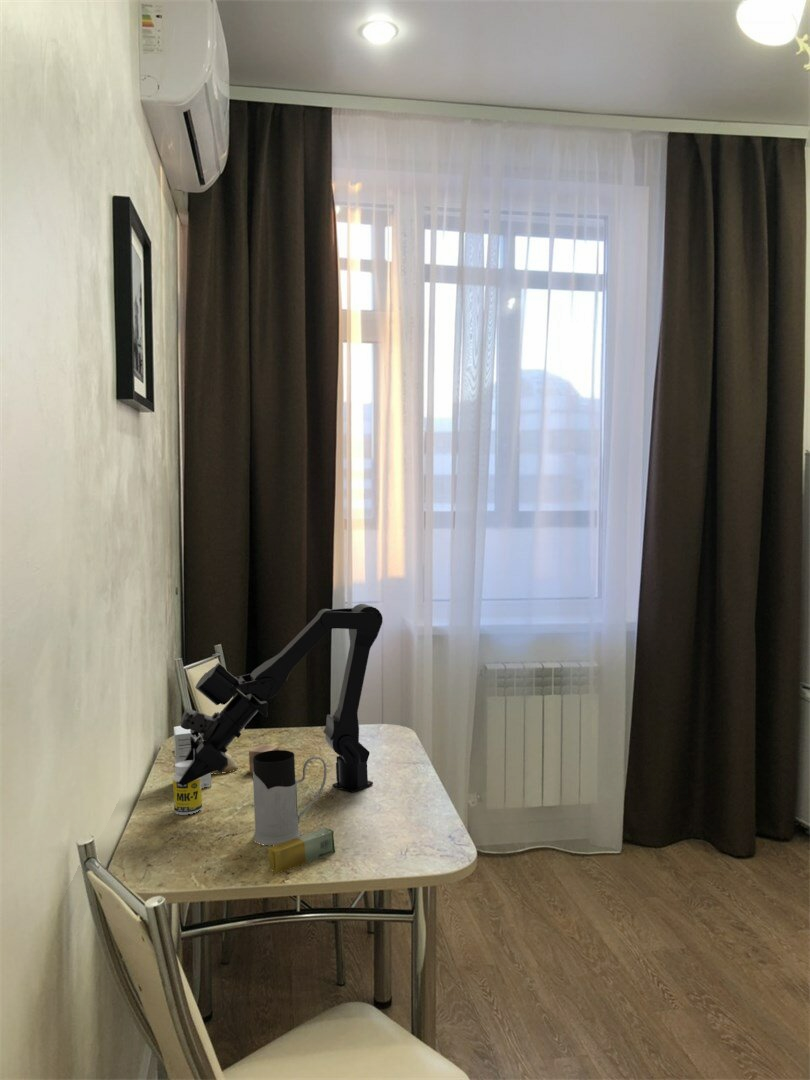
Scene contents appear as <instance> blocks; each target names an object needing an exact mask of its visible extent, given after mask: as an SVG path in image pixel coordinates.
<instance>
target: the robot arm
mask: <svg viewBox="0 0 810 1080" xmlns="http://www.w3.org/2000/svg"><path fill="white" fill-rule="evenodd" d="M383 619H384V618H383V614H382V613H381V612H380V610H379V609H377V607H374V606H372V605H368V604H365V603H359V604H356V605H354V606H353V607H347V608H333V609H331V608H330V609H329V608H322V609H320V610H319V611H318V612H317V614H316V615H315V617H314V618H313V619H312V620H311V621H310V622H308V624H307V625H306V626H305V627H304V628H303V629H302V630H301V631H300V632H299V633H298V634H297V635H296V636H295V637H293V639H292V640H291V641H290V642H289V643H288V644H287V645H286V646H285V647H284V648H283V649H282V650H281V651H279V653H277V654H276V655H274V656H273V657H271V658H270V659H268V660H266V661H264V662H263V663H261V664H260V665H259V666H257V667H256V668H255V669H253V670H252V671H251V673H248V674H243V675H239V676H234V675H233V674H231V672H230V671H228V670H227V669H226V668H225V666H224V665H222V663H220V662H217V663H216V664H215V666H213V667H211V669H209V670H208V671H207V672H204V674H203V675H202V676H201V677H200V679H199V680H198V682H197V683H196V684H195V689H196V690H197V691H199V692H200V694H202V695H203V696H204V697H205V698H206V699H208V700H209V702H210V701H211V703H213V704H214V705H215V706H219V705H220V704H221V706H222V705H225V706H224V707H223V709H222V710H221V711H220V712H218V711H215V712H214V713H213V714H212V715H211V716H210V715H207V714H205V713H203V712H199V711H197V710H194V709H190V708H185V709H184V711H183V714H182V716H181V719H180V721H179V724H180V726H181V727H182V728H184V729H187V730H188V729H190V730H191V731H190V732H191V734H192V735H196V736H195V737H194V738H192V737H191V736H190V750H189V752H188V754H187V756H186V758H185V760H184V761H187V760H193V761H192V762H191V764H190V765H189V767H188V768H187V770H186V772H185V773H184V775H183V776H182V778H181V779H180V781H179V783H180V784H181V785H182V786H184V785H186V784H188V783H190V782H192V781H194V780H196V779H198V778H200V777H202V776H204V775H206V774H209V773H211V772H213V771H217V770H218V771H219V772H221V773H222V771H223V770H224V769H225V768H226V767H227V766H228V759H227V756H226V754H225V753H227V751H228V746H230V744H231V743H232V742H233V741H234V739H235V738H237V739H238V738H240V737H241V735H242V733H241V732H242V730H243V729H245V727H246V726H247V724H249V722H251V720H252V719H253V717H254V716H255V715H256V714H257V713H258V712H259V713H260V714H261V715H262V716H263V717H268V714H269V713H268V702H267V701H266V700H267V699H268V700H269V699H270V700H271V699H273V698H274V697H276V696H277V695H278V694H279V692H280V691H281V689H282V688H283V686H285V684H286V682H287V681H288V678H289V676H290V674H291V672H292V671H293V670H294V668H295V667H296V666H297V665H298V664H299V663H300V662H301V661H302V660H303V659H304V658H305V657H306V656H307V655H308V654H309V653H310V652H311V651H312V650H313V649H314V647H316V646H317V645H318V644H319V642H321V640H322V639H323V638H325V637H326V635H327V634H328V633H330V631H331V630H335V629H339V630H341V629H342V630H343V629H344V630H348V636H349V650H348V653H347V659H346V664H345V669H344V674H343V675H344V676H343V679H342V684H341V689H340V693H339V694H340V695H339V699H338V700H339V701H338V705H337V708H336V710H335V712H334V713H333V714H332V715H331V714H326V719H325V720H326V724H325V727H324V729H323V731H322V732H323V734H324V735H325V741H326V744H328V746H329V747H330V748H331V749H332V750H333V752H335V753H336V754H337V755H338V756H336V763H335V775H336V782H334V783H332V784H331V785H332V787H333V788H336V789H339V790H342V791H347V792H348V793H349V792H350V793H355V792H357V791H360V790H363V789H365V788H367V787H371V786H372V785H373V784H374V782H373V781H372V780H371V781H370V780H368V779H369V778H368V777H369V775H368V760H369V756H370V751H369V750H368V749H367V748H366V747H365V746H364V745H363V744H362V743H361V742H359V741H360V726H359V717H358V716H359V715H358V712H359V711H358V710H359V708H360V707H359V706H360V702H361V696H362V691H363V686H364V682H365V675H366V671H367V665H368V661H369V657H370V651H371V648H372V646H373V645H374V642H375V641H376V639H377V638H378V636H379V633H380V630H381V628H382V625H383ZM238 688H239V689H238ZM242 691H243V692H242ZM244 693H245V694H246V695H245V694H244ZM254 694H255V696H254ZM256 696H257V697H259V698H261V699H263V700H262V701H260V700H259V699H258V698H257V697H256Z"/></svg>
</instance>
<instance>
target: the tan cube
mask: <svg viewBox="0 0 810 1080" xmlns="http://www.w3.org/2000/svg"><path fill="white" fill-rule="evenodd" d="M279 748H280V747H279V746H277V745H269V744H268V745H265V744H259V745H258V746H256V747H254V748H252V749H250V750H248V763H249V764H248V765H249V773H253V771H254V765H253V757H254V756H255V755H257V754H259V753H262V752H266V751H272V750H280V749H279Z"/></svg>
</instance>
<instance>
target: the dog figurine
mask: <svg viewBox="0 0 810 1080" xmlns="http://www.w3.org/2000/svg"><path fill="white" fill-rule="evenodd" d="M225 754H226V756H227V759H228V766H227V767H226V768H225V769H224V770H223V771H222V772H230V771H233V770H236V769H238V770H239V768H238V764H237V763H236V761H235V759H234V758H233V756H232V755H231V754H230V753H227V752H226V753H225ZM236 771H237V770H236ZM233 772H234V771H233ZM211 773H221V772H219V771H218V770H217V771H213V772H211ZM230 773H231V772H230Z"/></svg>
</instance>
